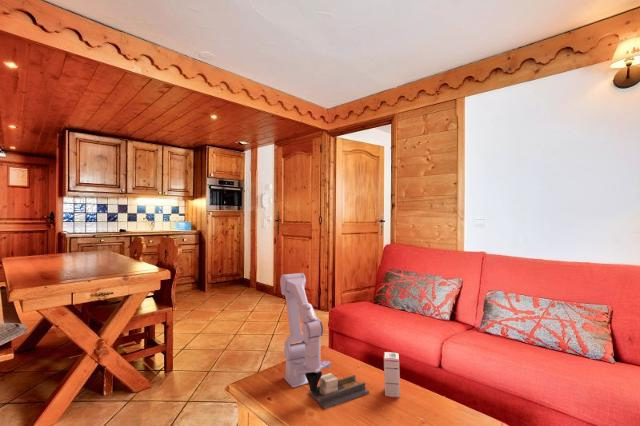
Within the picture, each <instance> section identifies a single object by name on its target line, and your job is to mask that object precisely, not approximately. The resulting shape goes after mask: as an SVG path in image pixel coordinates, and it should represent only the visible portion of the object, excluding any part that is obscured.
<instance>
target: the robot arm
mask: <svg viewBox="0 0 640 426" xmlns="http://www.w3.org/2000/svg"><path fill="white" fill-rule="evenodd" d="M306 283H307V278H306V275H305V274H304V273H303V272H299V273H298V272H297V273H288V274H282V275H281V276H280V281H279V285H280V292H281V295H283V296H285V301H286V302H285V303H286V309H287V311H286V312H287V318H288V319H287V320H288V329H289V336H288V337H287V338H286V340H285V341H284V342H283V343H284V349H283V353H284V357H285V360H286V361H285V376H284V375H283V378H284V380H285V381H286V383H288V384H289V385H290V386H291V388H297V387H301V386H304V385H307V384H308V385H309V390H310V391H311V392H312V393H314V392H316V389H317V386H319V383H320V378H321V376H322V375H323V372H322V371H321V370H324V369H327V368H328V369H331V368H332V362H331V361H329V360H323V361H321V360H322V359H321V357H322V356H321V351H322V350H321V336H323V334H324V326H323V323H322V321H321V320H320V318H319V317H317V315H316V312H315V310H314V307H313V305H312V303H310V302H309V301H308V297H307V294H306V293H307V292H306V291H305V287H306ZM301 323H302V327H301Z"/></svg>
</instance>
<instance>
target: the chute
mask: <svg viewBox="0 0 640 426" xmlns="http://www.w3.org/2000/svg"><path fill="white" fill-rule="evenodd" d="M308 394H309V396H311V397H312V399H314V401H316V402H317V404H318V405H319V407H321V408H322V409H324V410H326V409H330V408H333V407H335V406H338V405H341V404H344V403H346V402H349V401H352V400H355V399H358V398H360V397H363V396H364V397H365V396H367V395H369V394H370V390H369V389H367V388H366V382H360V383H359V382H358V381H357V380H356V375H355V374H352V375H349V376H346V377H342V378H338V391H335V392H332V393H329V394H326V395H322V394H321V393H320V384H318V385H317V389H316V392H314V393H312V392H311V391H310V389H309V390H308Z"/></svg>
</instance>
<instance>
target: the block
mask: <svg viewBox="0 0 640 426" xmlns="http://www.w3.org/2000/svg"><path fill="white" fill-rule="evenodd" d="M338 380H339V378H338V377H336V375H334V374H333V373H331V372H330V373H327V374H322V376H321V378H320V379H319V385H320V393H321V394H322V395H326V394H329V393H332V392H335V391H338Z"/></svg>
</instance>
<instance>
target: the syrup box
mask: <svg viewBox="0 0 640 426" xmlns="http://www.w3.org/2000/svg"><path fill="white" fill-rule="evenodd" d="M383 353H384V354H383V369H384V370H383V372H384V373H383V374H384V375H383V377H384V378H383V379H384V396H385V397H389V398H390V397H391V398H400V397H401V381H400V380H401V378H400V377H401V375H400V374H401V373H400V371H401V370H400V358H399V357H400V356H399V353H398V352H393V351H391V352H390V351H386V352H385V351H384V352H383Z"/></svg>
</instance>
